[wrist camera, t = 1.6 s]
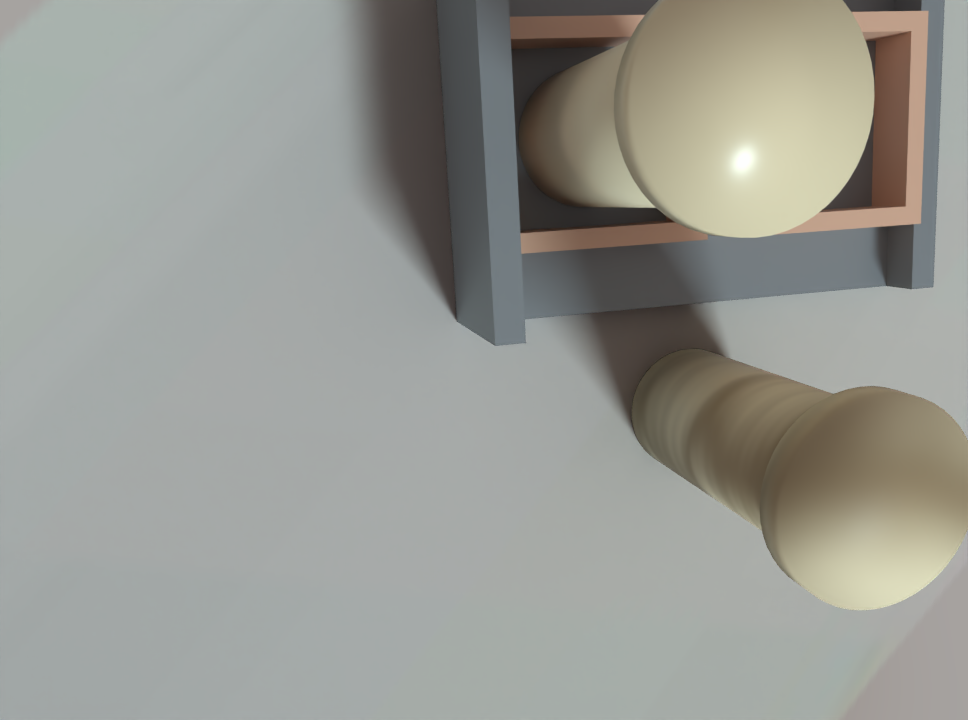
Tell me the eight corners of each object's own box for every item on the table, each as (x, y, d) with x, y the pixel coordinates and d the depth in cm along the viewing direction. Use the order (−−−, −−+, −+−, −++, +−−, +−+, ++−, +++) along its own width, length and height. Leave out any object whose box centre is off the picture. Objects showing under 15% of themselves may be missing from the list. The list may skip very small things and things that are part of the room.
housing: (891, 281, 37) (1199, 320, 25) (456, 321, 33) (566, 391, 21) (900, -43, 35) (1247, -179, 23) (433, -43, 31) (541, -211, 18)
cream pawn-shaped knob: (757, 472, 38) (971, 591, 26) (617, 491, 36) (777, 626, 25) (758, 325, 36) (982, 382, 25) (613, 339, 35) (779, 407, 23)
